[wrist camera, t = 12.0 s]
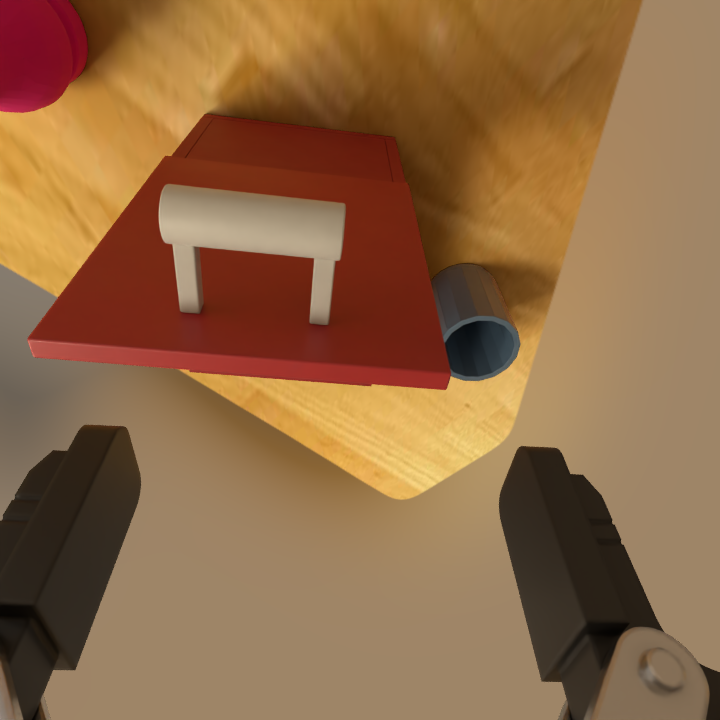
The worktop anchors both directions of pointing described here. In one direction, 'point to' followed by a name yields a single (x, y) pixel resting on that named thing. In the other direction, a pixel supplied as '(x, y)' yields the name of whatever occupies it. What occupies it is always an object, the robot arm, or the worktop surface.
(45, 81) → the pepper mill
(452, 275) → the cup
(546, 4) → the worktop surface
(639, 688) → the robot arm
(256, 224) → the cooler lid
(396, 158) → the cooler
